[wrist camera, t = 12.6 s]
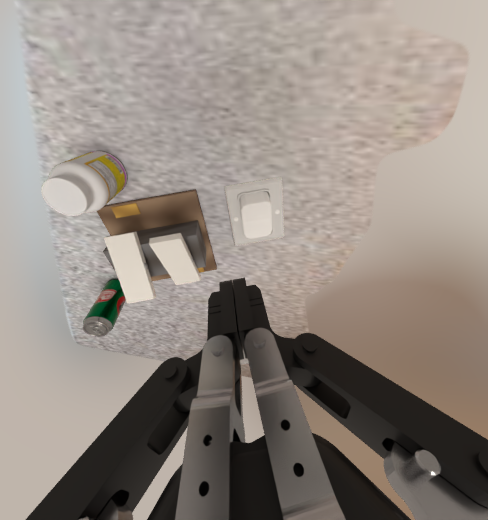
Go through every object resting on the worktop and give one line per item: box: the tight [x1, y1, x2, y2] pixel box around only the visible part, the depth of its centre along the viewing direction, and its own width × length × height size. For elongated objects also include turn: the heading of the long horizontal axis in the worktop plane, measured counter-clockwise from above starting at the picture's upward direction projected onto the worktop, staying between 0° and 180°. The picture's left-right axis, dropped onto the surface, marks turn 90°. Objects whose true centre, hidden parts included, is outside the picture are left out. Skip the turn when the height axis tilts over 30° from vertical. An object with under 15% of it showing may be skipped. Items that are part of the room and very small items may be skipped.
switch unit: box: [97, 190, 217, 281], centre depth 42 cm, size 18×18×7 cm
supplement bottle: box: [41, 151, 127, 216], centre depth 31 cm, size 7×7×13 cm
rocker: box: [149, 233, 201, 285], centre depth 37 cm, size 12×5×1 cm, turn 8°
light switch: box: [224, 177, 284, 246], centre depth 43 cm, size 11×4×13 cm
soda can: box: [83, 279, 126, 337], centre depth 45 cm, size 5×5×12 cm
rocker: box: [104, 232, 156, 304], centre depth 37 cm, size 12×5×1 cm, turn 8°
